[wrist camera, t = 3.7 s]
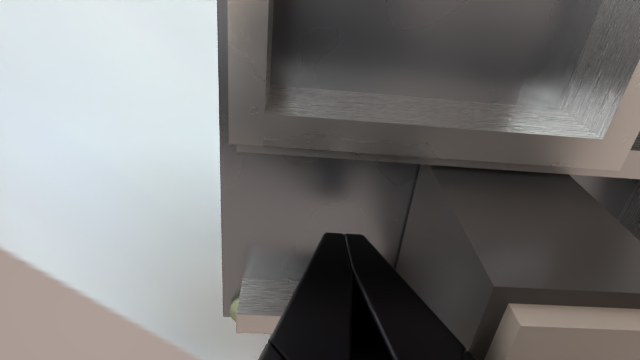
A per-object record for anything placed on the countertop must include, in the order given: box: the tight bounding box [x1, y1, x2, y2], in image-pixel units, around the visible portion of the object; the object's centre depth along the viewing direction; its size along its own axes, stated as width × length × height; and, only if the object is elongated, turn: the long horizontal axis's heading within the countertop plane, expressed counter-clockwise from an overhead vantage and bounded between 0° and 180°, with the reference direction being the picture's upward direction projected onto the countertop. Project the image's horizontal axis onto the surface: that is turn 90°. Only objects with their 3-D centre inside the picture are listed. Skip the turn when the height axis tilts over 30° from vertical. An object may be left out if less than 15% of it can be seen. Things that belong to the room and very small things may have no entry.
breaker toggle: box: [396, 164, 640, 360], centre depth 9 cm, size 3×4×4 cm
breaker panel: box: [217, 0, 640, 334], centre depth 9 cm, size 10×13×4 cm
